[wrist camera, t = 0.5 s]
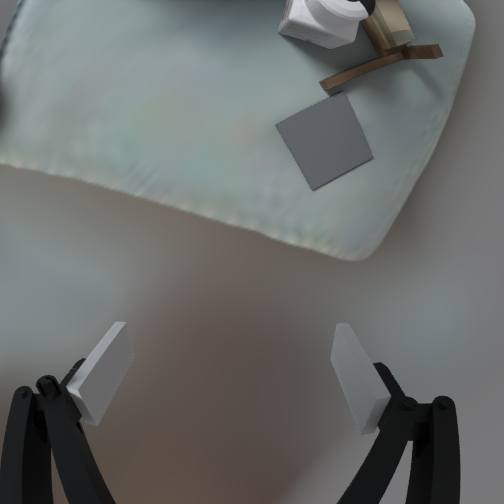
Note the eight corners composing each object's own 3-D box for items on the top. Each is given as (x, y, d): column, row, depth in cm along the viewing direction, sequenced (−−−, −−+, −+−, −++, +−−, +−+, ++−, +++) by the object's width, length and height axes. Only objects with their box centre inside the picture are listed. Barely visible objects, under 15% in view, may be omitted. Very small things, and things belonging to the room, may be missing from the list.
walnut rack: (244, -24, 20) (248, -49, 14) (343, -49, 17) (365, -68, 10) (324, 91, 31) (347, 91, 24) (410, 57, 27) (443, 56, 20)
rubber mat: (274, 125, 33) (275, 125, 33) (342, 91, 31) (343, 91, 30) (311, 189, 39) (312, 190, 38) (371, 156, 36) (373, 157, 36)
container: (288, -10, 22) (316, -49, 11) (342, 8, 24) (388, -17, 13) (276, 33, 26) (301, 5, 15) (331, 50, 28) (378, 36, 17)
